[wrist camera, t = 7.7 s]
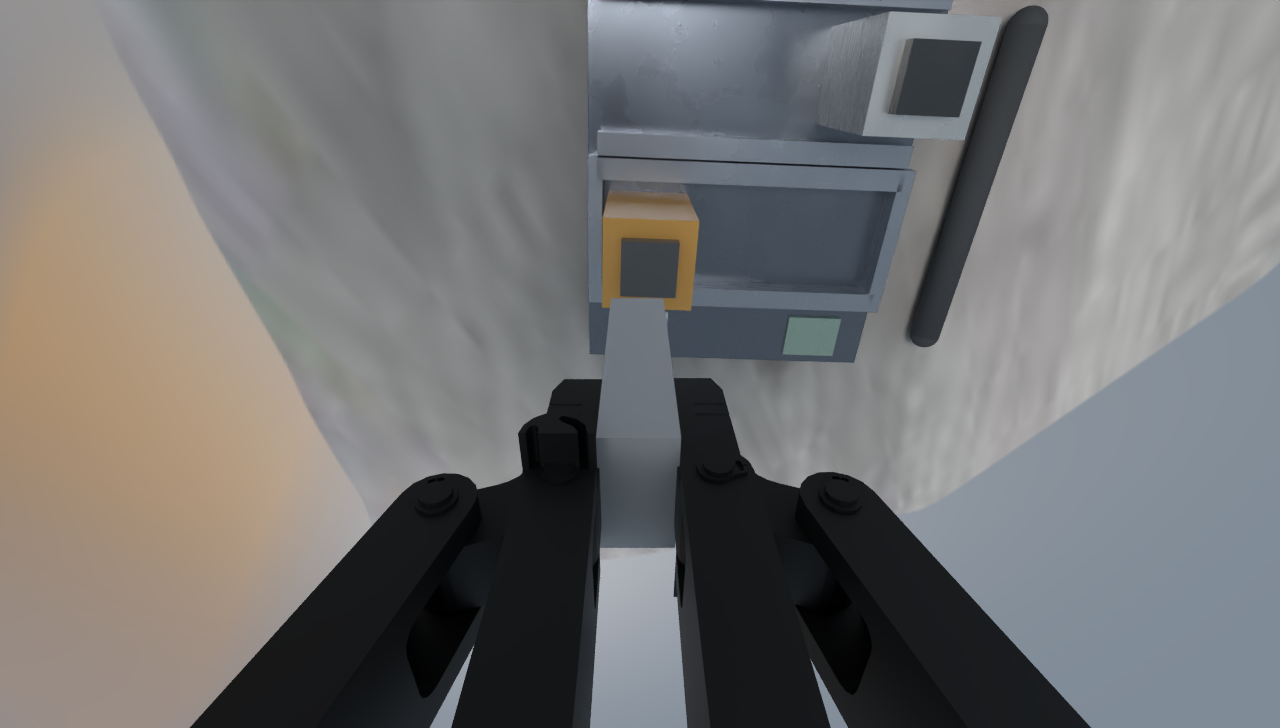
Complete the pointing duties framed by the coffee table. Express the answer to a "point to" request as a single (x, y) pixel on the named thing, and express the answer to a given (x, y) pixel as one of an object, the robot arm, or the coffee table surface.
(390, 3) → the coffee table surface
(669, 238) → the block
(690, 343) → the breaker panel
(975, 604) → the robot arm
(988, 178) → the rod
